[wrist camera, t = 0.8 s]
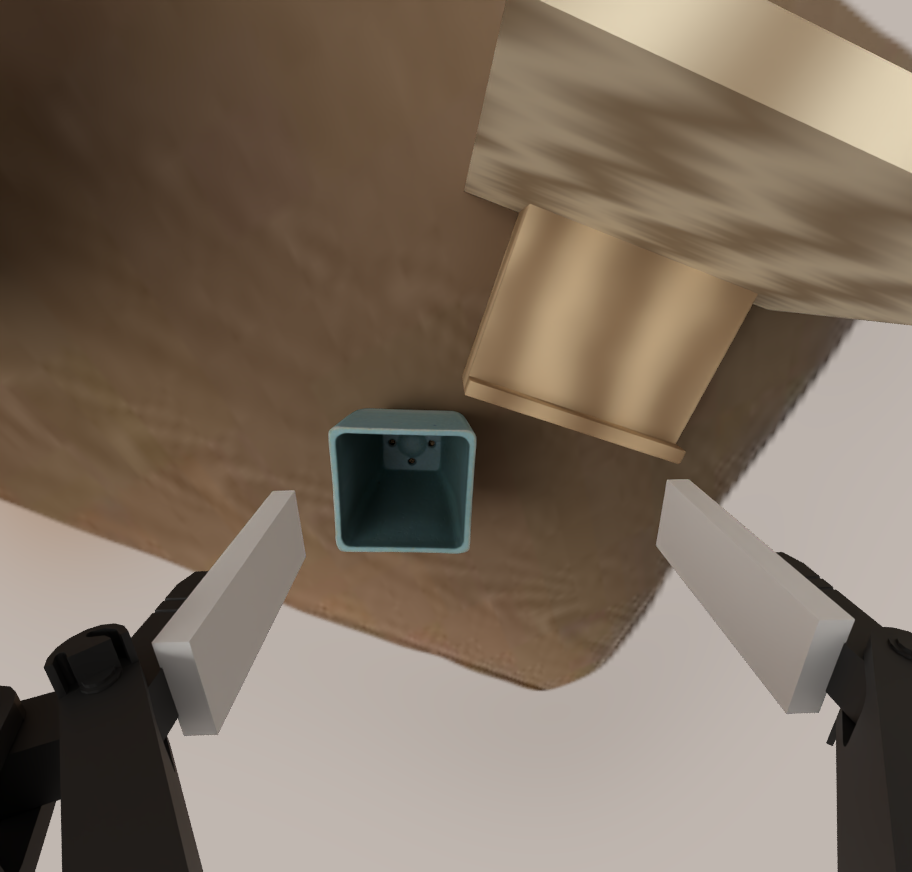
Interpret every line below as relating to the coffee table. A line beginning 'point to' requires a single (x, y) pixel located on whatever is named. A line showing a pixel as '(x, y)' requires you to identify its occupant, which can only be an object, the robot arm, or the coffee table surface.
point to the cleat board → (678, 201)
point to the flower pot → (402, 481)
